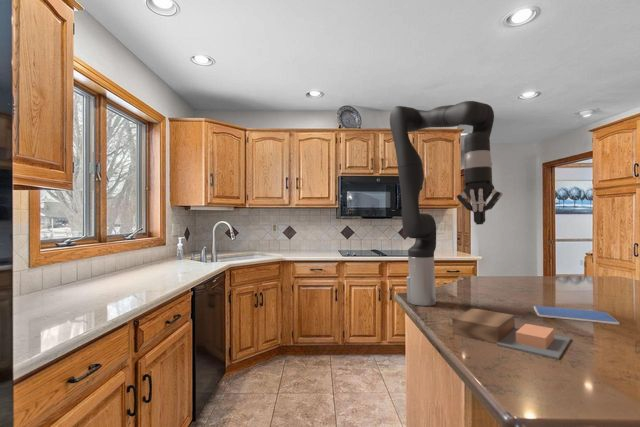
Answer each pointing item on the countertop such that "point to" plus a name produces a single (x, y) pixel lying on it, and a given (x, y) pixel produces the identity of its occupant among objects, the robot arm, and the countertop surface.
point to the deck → (483, 325)
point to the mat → (552, 351)
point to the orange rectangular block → (535, 336)
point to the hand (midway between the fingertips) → (479, 224)
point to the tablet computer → (575, 314)
